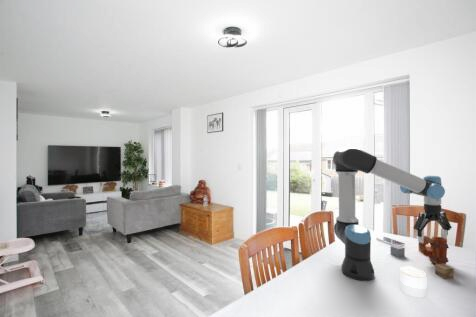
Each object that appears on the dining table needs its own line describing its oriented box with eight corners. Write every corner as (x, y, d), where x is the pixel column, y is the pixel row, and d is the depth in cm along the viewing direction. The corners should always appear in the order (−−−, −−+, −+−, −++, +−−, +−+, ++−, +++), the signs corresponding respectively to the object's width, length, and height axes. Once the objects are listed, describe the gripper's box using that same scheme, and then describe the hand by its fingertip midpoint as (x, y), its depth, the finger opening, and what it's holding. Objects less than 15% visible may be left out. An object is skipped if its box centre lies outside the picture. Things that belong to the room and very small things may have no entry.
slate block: (398, 257, 140) (398, 249, 139) (390, 254, 144) (390, 246, 144) (404, 256, 141) (404, 247, 141) (396, 252, 146) (396, 244, 146)
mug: (441, 260, 135) (442, 234, 135) (453, 267, 127) (454, 239, 126) (414, 259, 136) (415, 233, 136) (423, 265, 128) (424, 238, 128)
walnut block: (444, 279, 116) (444, 269, 115) (435, 274, 120) (435, 264, 120) (453, 278, 116) (454, 268, 116) (444, 273, 121) (444, 263, 121)
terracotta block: (424, 254, 143) (424, 246, 143) (418, 251, 148) (418, 243, 148) (432, 254, 142) (432, 246, 142) (427, 251, 147) (427, 243, 147)
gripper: (416, 206, 126) (416, 245, 127) (460, 204, 128) (460, 243, 129) (405, 203, 134) (405, 240, 134) (446, 201, 136) (447, 238, 136)
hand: (432, 241), depth 131 cm, fingers closed on mug, 13 cm apart
